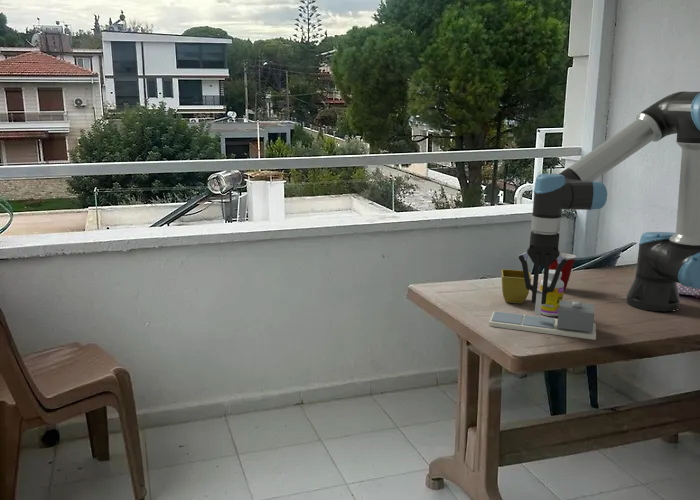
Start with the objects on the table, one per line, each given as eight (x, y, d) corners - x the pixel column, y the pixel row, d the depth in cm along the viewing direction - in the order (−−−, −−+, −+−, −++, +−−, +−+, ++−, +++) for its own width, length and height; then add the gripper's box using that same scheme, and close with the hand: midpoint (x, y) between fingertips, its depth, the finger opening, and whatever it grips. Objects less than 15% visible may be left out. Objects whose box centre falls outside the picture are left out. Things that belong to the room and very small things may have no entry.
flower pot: (529, 306, 197) (531, 278, 195) (500, 304, 199) (502, 276, 197) (527, 298, 205) (529, 270, 203) (499, 296, 207) (501, 269, 205)
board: (594, 327, 180) (595, 322, 180) (595, 339, 171) (596, 334, 170) (493, 314, 189) (493, 310, 188) (488, 325, 179) (489, 320, 179)
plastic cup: (559, 283, 222) (563, 249, 220) (579, 292, 212) (583, 257, 210) (532, 285, 219) (535, 251, 216) (551, 295, 209) (555, 259, 206)
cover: (591, 321, 179) (594, 300, 178) (592, 332, 171) (594, 309, 170) (557, 317, 182) (560, 296, 181) (556, 327, 174) (559, 305, 172)
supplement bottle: (557, 318, 187) (562, 275, 184) (535, 314, 190) (538, 272, 187) (563, 312, 192) (567, 270, 189) (541, 308, 196) (545, 267, 193)
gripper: (570, 231, 175) (562, 313, 181) (521, 227, 179) (514, 307, 185) (570, 236, 168) (561, 321, 174) (519, 232, 172) (512, 315, 178)
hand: (537, 314), depth 179 cm, fingers closed
